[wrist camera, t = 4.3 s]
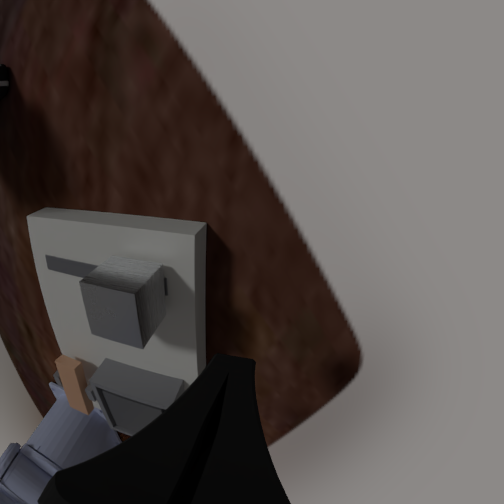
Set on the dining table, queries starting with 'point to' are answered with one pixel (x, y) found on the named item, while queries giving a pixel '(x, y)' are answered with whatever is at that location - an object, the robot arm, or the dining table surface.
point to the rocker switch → (74, 383)
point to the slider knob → (125, 300)
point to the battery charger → (3, 81)
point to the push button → (130, 412)
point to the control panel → (176, 298)
